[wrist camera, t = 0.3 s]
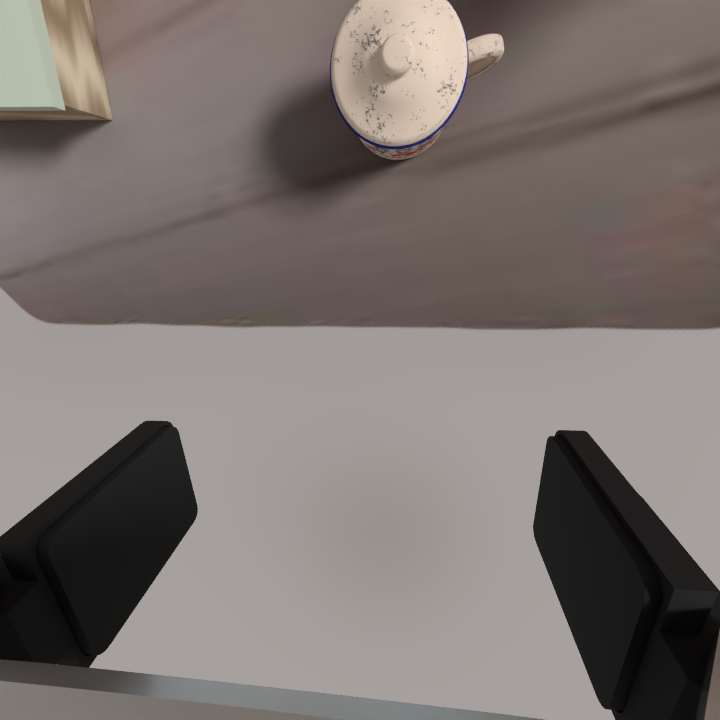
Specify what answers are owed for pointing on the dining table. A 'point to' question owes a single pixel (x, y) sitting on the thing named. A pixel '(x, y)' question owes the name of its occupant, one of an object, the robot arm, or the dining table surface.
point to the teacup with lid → (404, 72)
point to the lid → (27, 59)
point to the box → (72, 64)
